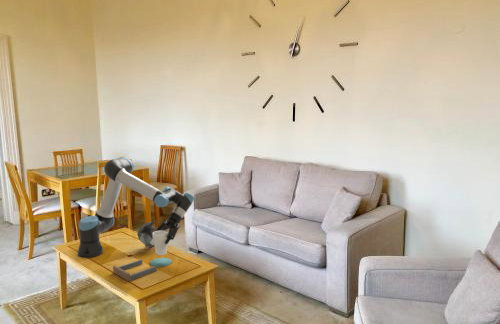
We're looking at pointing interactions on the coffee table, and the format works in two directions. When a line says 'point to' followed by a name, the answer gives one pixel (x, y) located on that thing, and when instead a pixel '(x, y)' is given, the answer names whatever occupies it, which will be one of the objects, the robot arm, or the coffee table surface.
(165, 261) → the teal mat
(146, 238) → the grey rock
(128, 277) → the cup lane
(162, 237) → the foam cup
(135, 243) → the coffee table surface
